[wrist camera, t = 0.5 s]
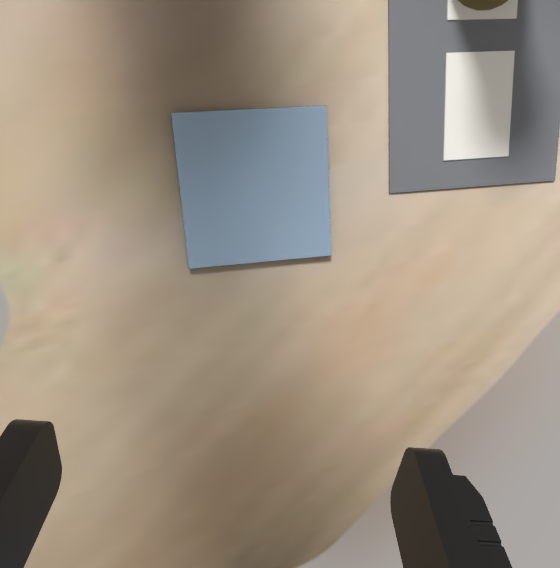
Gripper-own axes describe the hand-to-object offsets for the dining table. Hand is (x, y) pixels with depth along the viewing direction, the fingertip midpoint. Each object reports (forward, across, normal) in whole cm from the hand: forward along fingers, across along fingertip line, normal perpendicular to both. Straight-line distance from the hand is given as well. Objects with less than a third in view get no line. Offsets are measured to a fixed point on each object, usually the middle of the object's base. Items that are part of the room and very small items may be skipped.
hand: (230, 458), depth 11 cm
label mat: (+28, -14, -9) cm, 33 cm away
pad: (+23, 0, +2) cm, 23 cm away
